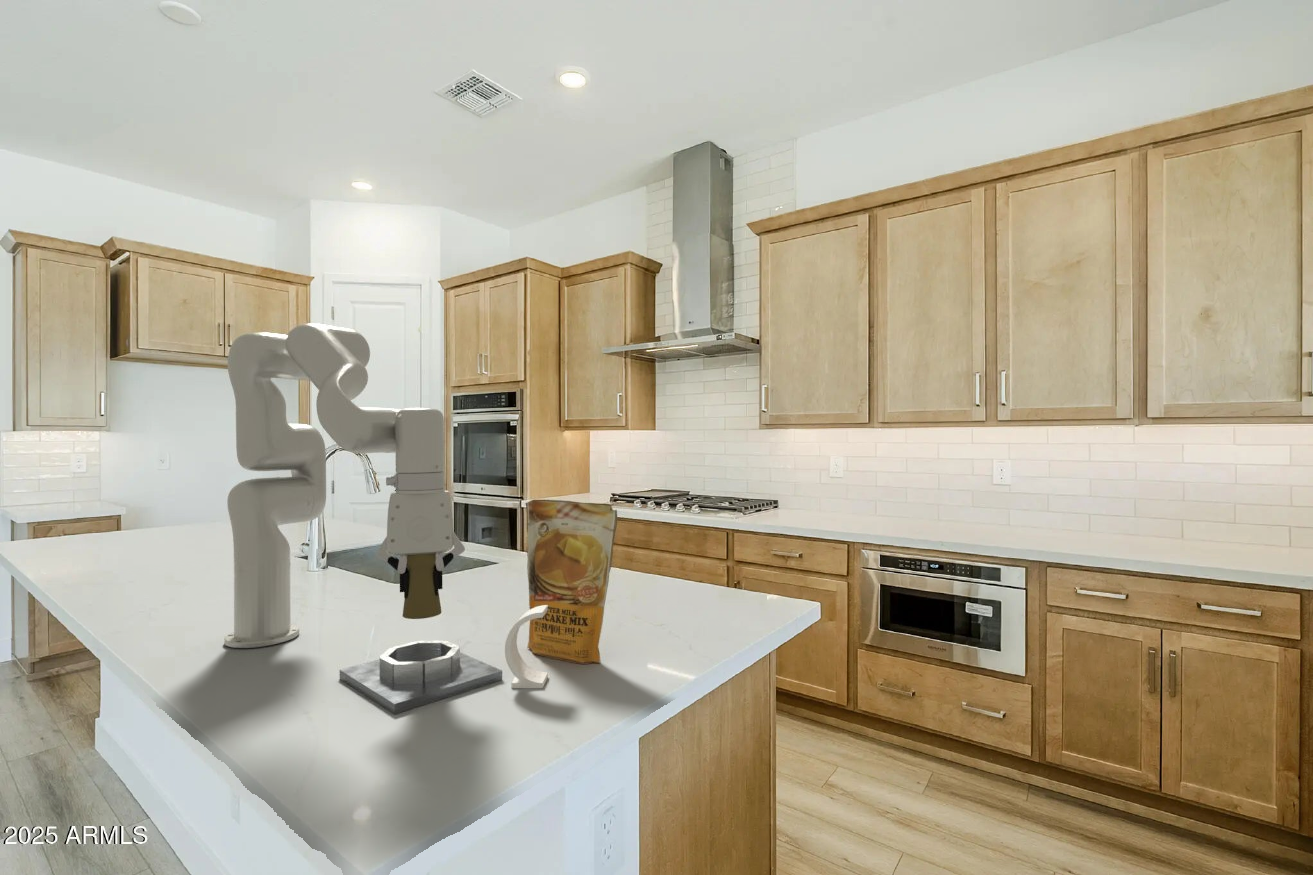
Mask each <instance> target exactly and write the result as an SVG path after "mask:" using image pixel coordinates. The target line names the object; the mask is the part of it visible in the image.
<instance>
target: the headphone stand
mask: <svg viewBox="0 0 1313 875" xmlns="http://www.w3.org/2000/svg"><path fill="white" fill-rule="evenodd" d="M547 610H548V605H542V606H538V607H535V608H532V609H530V608H529V609H528V610H527V611H526V612H525V613H523V614H522V615H521V616H520V618H519V619H517V621H516V622H515V623H514V625H513V626H512V628H511V629H510V630H509V633H508V634H507V636H506V639H505V642H504V643H505V644H504V655H505V661H506V664H507V666H508V668H509V670H510V671H511V673H512V674H513V675H514V678H513V680H512V681H511V689H544V686H545V684H546V683H547V681H548V679H549V678H548V677H549V673H548V672H546V671H540V670H537V669H534V668H533V667H531V666H529V665H528V664H527V663H526V662H525V661H524V659H523V658H522V656H521V654H520V652H519V647H518V644H517V642H518V633H519V631H520V628H521V626H524V624H525V623H527V622H530V620H532V619H535V618H543V616H544V615H545V613H546V612H547Z"/></svg>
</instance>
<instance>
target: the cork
mask: <svg viewBox="0 0 1313 875" xmlns="http://www.w3.org/2000/svg"><path fill="white" fill-rule="evenodd" d="M435 561H436V554H435V553H433V554H418V555H408V556H407V564H406V566H407V567H408V573H409V592H408V598H404V601H403V608H402V617H403V618H404V619H408V620H409V619H410V620H420V619H421V620H422V619H423V620H424V619H429V618H433V617H437V616H439V615H441V614H442V607H441V606H442V605H441V599H440V594H439V590H438V596H436V595H435V589H434V583H433V572H435V565H436V563H435Z"/></svg>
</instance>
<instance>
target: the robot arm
mask: <svg viewBox="0 0 1313 875" xmlns="http://www.w3.org/2000/svg"><path fill="white" fill-rule="evenodd" d="M370 357H371V350H370V346H369V342H368V341H367V339H366V337H364V336H363V335H362V334H361V333H360V332H358V331H356V330H354V329H351V328H345V327H337V326H333V325H329V324H328V325H326V324H321V323H302V324H299V325H297V326H295V327H293V328H292V329H290V330H289V331H288V333H287V335H286V334H281V333H271V332H247V333H243V334H241V335H240V336H238V337H236V339H235V340H233V342H232V344H231V346H230V349H229V351H228V356H227V371H228V377H229V380H230V384H231V388H232V390H233V395H234V399H235V437H236V438H235V441H236V442H235V444H236V447H235V448H236V458H237V461H238V464H239V465H240V466H241V468H243V469H245V470H247V471H253V472H271V471H272V472H275V471H276V472H277V471H290V472H291V476H285V477H284V476H283V477H280V476H277V477H275V476H274V477H262V478H260V477H259V478H258V477H257V478H250V479H247V480H243V481H241V482H239V483H237V484H236V485H234V486H233V487H232V488H231V490H230V491H229V493H228V496H227V500H226V501H227V512H228V515H229V520H230V525H231V532H232V537H233V538H232V539H233V540H232V541H233V631H232V632H230V633H228V634H227V635H226V636H225V637H224V645H225V646H226V647H230V648H235V649H253V648H254V649H255V648H261V647H268V646H274V645H278V644H283V643H284V642H288V641H291V640H292V639H294V638H296V637H297V636H299V635H300V627H299V626H298V625H297V624H291V547H290V544H289V541H288V539H287V538H286V537H285V535H284V534H283V533H282V532H281V530H280V528H279V526H282V525H289V524H296V523H305V522H310V521H314V520H315V519H318V518H319V517H320V516H321V515H322V514H323V512H324V510H325V506H326V503H327V502H326V501H327V456H326V455H327V453H326V452H327V451H326V444H325V440H324V438H323V436H322V434H321V432H320V431H319V430H318V429H317V428H316V427H314V426H312V425H311V424H304V423H288V421H287V403H286V399H285V397H284V395H283V393H282V391H281V389H280V388H279V387H278V386H277V384H275V382H274V381H273V380H272V379H284V380H297V381H307V382H311V383H312V384H313V385H314V386H315V388H316V389H317V390H318V393H317V396H316V406H315V407H316V413H317V414H316V415H317V417H318V418H317V420H318V422H319V424H320V425H321V427H322V428H323V430H325V432H326V433H327V435H328V436H329V437H330V438H331V439H332V440H333V442H335V443H336V444H337V446H339V447H340V448H342V449H343V450H345V451H347V452H350V453H353V454H377V453H378V454H379V453H381V454H384V453H385V454H390V453H391V454H395V474H393V476H389V477H388V476H387V477H385V485H386V486H391V487H393V488H395V491H394V492H391V493H390V496H389V502H388V506H387V507H388V508H387V521H386V522H387V523H386V536H385V538H384V540H383V541H382V543H380V544H381V545H380V546H379V547H378V549H377V550H376V552H375V554H374V555H375V557H376V558H377V559H379V560H381V561H383V562H386V563H388V564H389V566H391V567H392V568H393V569H394V570H396V571H397V573H398V574H399V593H403V595H404V597H403V598H404V599H405V598H408V592H409V573H408V567H407V566H406V564H407V556H408V555H418V554H433V553H435V554H436V561H435V563H436V565H435V572H433V583H434V589H435V595H436V596H438V591H439V590H443V571H444V569H445V568H446V567H447V566H448V565H449V563H451V562H452V561H453V560H454V558H456V557H458V556H460V555H461V554H463V553H464V552H465V551H466V548H465V546H464V544H463V543H462V541H461V540H460V539H459V537H458V536H457V534H456V532H455V531H454V517H453V516H454V515H453V506H452V505H453V504H452V499H451V494H450V491H449V490H445V489H446V488H445V419H444V418H445V417H444V414H443V412H441V410H439V409H437V408H430V407H429V408H427V407H408V408H402V409H400V408H389V407H388V408H387V407H367V406H366V407H363V406H361V407H360V406H358V405H356V404H355V403H354V402H352V400H354V399H355V398H357V397H358V396H360V394H362V393H363V391H364V390H365V388H366V386H367V384H368V381H369V374H368V371H367V368H366V367H367V366H368V364H369V361H370ZM443 553H445V554H444V556H443ZM396 556H399V558H397V557H396Z"/></svg>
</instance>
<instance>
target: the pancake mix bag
mask: <svg viewBox="0 0 1313 875" xmlns="http://www.w3.org/2000/svg"><path fill="white" fill-rule="evenodd" d="M525 506H526V507H525V508H526V509H525V510H526V534H527V538H526V539H527V540H526V545H527V546H526V553H527V581H528V596H529V598H528V600H529V601H528V602H529V603H528V606H529V610H530V609H532V608H535V607H538V606H542V605H548V610H547V612H546V613H545V615H544V616H543V618H535V619H532V620H529V629H528V643H527V647H526V648H527V649H529V650H531V653H532V654H534V655H538V656H542V657H546V658H550V659H555V660H558V661H559V660H561V661H565V662H569V663H573V664H579V665H580V664H581V665H587V664H592V663H602V662H601V653H600V649H599V645H600V639H601V633H602V629H603V628H602V626H603V622H604V617H605V616H604V614H605V605H606V599H607V592H608V587H609V580H610V573H611V568H612V563H613V562H612V561H613V552H614V543H615V537H616V531H617V527H618V510H617V509H613V507H612V505H611V504H608V503H600V502H599V503H597V502H595V503H594V502H578V501H572V500H559V499H558V500H557V499H556V500H555V499H532V500H529V501H527V502H526V503H525Z"/></svg>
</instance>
